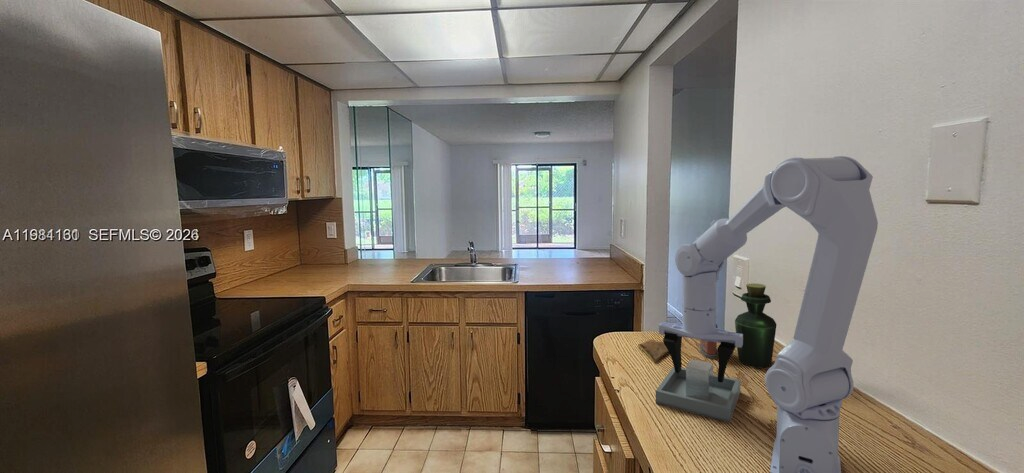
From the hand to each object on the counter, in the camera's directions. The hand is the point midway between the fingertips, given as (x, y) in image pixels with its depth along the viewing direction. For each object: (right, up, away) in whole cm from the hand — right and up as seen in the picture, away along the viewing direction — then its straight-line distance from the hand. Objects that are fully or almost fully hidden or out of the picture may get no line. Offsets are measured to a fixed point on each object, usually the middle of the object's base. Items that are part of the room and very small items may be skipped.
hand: (698, 375), depth 78 cm
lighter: (+12, -2, +21) cm, 25 cm away
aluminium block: (0, -4, +1) cm, 4 cm away
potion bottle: (+20, -2, +15) cm, 24 cm away
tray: (0, -5, +1) cm, 5 cm away
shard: (+1, -3, +23) cm, 23 cm away
